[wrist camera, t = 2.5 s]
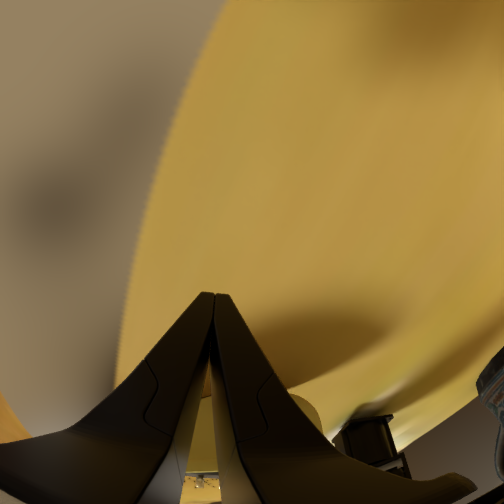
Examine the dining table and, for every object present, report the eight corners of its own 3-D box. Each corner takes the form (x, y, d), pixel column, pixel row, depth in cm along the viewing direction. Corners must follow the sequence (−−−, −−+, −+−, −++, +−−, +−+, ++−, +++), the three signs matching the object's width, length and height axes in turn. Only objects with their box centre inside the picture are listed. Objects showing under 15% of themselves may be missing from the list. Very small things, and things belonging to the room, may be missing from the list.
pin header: (234, 471, 42) (235, 487, 39) (233, 474, 43) (233, 490, 40) (166, 465, 40) (164, 481, 37) (167, 468, 42) (166, 484, 39)
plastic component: (154, 421, 31) (144, 492, 22) (112, 390, 27) (91, 469, 19) (312, 381, 27) (330, 473, 18) (283, 338, 23) (301, 452, 15)
